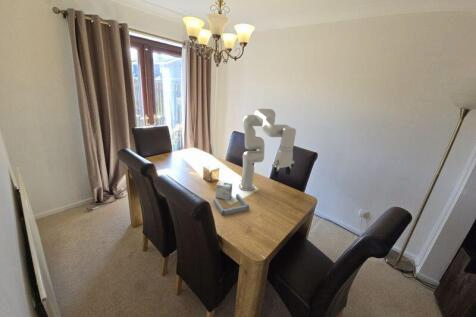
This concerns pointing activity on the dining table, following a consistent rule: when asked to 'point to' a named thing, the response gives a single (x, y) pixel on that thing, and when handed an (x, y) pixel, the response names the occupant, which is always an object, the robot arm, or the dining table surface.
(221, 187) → the light bulb box
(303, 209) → the dining table surface
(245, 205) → the dock
